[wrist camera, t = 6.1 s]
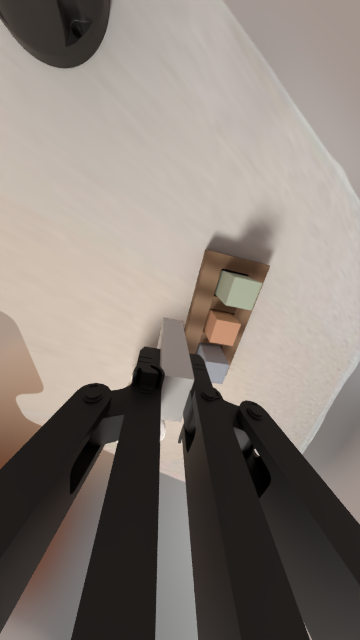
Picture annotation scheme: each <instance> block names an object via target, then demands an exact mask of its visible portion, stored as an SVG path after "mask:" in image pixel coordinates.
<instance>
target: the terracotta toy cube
mask: <svg viewBox="0 0 360 640" xmlns="http://www.w3.org/2000/svg"><path fill="white" fill-rule="evenodd" d="M240 326H241V323H240V322H239V321H238V320H237V319H236V318H235V317H234V316H233V315H232V314H231V313H230V312H225V311H220V310H215V309H209V312H208V316H207V319H206V322H205V325H204V331H205V333H206V335H207V338H208V340H209V342H212V343H218V344H224V345H229V346H233V344H234V341H235V339H236V336H237V334H238V331H239V329H240Z"/></svg>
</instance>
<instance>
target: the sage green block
mask: <svg viewBox="0 0 360 640" xmlns="http://www.w3.org/2000/svg"><path fill="white" fill-rule="evenodd" d="M261 286H262V283H261V282H259V281H256V280H254V279H251V278H249V277H247V276H244V275H240V274H236V273H231V272H227V271H223V270H222V272H221V276H220V279H219V282H218V285H217V289H216V292H215V295H216V296H217V297H218V298H219V299H220V300H221V301H222V302H223V303H224V304H225V305H227V306H232V307H237V308H242V309H246V310H251V311H252V308H253V306H254V303H255V301H256V298H257V296H258V293H259V291H260V288H261Z"/></svg>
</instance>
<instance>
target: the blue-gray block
mask: <svg viewBox="0 0 360 640" xmlns="http://www.w3.org/2000/svg"><path fill="white" fill-rule="evenodd" d="M196 354H199V355H200V356H201V357H202V358H203V359H204V362H205V365H206V368H207V371H208V374H209V377H210V380H211V383H218V384H222V383H223V381H224V378H225V376H226V373H227V371H228V368H229V366H230V365H229V363H228V361H227V359H226V357H225V355H224V353H223V351H222V349H221V347H220V346H218V345H212V344H206V343H200V344H199V347H198V350H197V353H196Z"/></svg>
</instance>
